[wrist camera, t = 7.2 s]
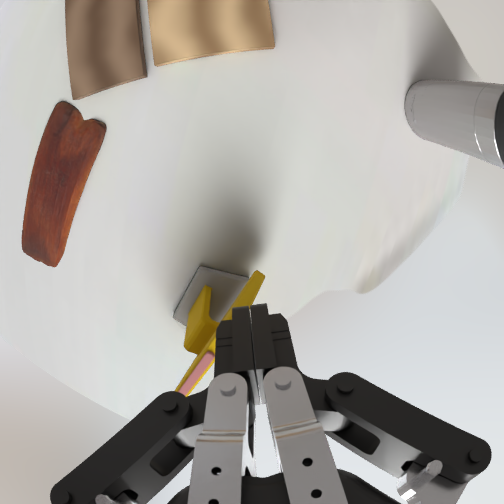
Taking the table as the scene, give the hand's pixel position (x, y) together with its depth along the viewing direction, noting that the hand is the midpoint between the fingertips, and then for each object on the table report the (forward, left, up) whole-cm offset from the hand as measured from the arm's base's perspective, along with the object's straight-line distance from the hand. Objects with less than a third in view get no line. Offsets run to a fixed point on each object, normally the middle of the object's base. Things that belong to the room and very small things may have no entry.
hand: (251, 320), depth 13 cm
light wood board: (+1, -24, -27) cm, 36 cm away
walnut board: (+14, -24, -27) cm, 39 cm away
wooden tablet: (+28, -3, -28) cm, 39 cm away
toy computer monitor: (+7, +19, -27) cm, 34 cm away
